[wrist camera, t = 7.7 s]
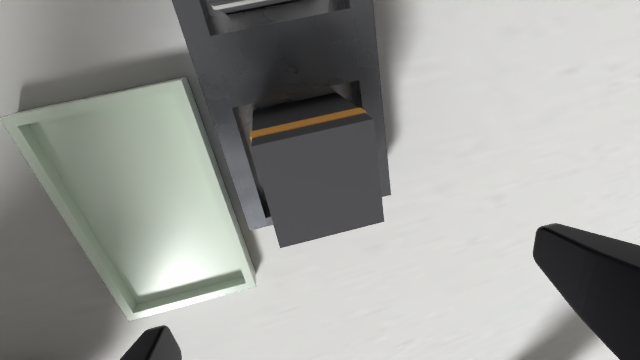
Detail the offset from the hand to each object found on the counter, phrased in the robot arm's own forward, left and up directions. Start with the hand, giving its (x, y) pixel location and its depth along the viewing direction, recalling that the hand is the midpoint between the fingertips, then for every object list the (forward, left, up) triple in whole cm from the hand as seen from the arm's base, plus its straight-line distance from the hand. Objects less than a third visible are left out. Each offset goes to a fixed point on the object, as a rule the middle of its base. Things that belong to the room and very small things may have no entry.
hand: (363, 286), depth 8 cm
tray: (-2, +9, -12) cm, 15 cm away
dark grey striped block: (0, 0, -11) cm, 11 cm away
